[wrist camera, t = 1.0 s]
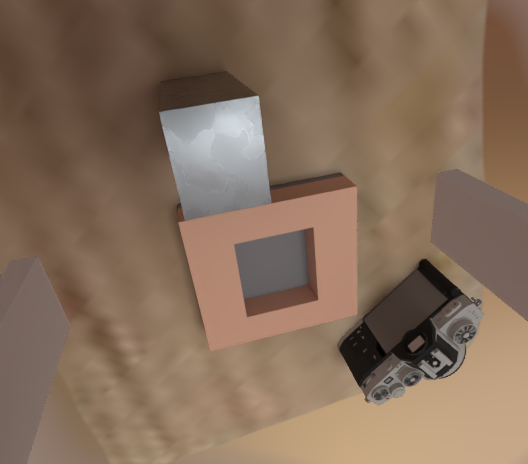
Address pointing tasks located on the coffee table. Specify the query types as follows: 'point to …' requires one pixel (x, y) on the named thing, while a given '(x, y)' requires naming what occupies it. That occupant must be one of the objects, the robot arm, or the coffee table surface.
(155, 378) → the coffee table surface
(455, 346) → the camera
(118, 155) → the coffee table surface
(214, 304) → the pink square frame
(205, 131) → the grey wood-topped pillar
